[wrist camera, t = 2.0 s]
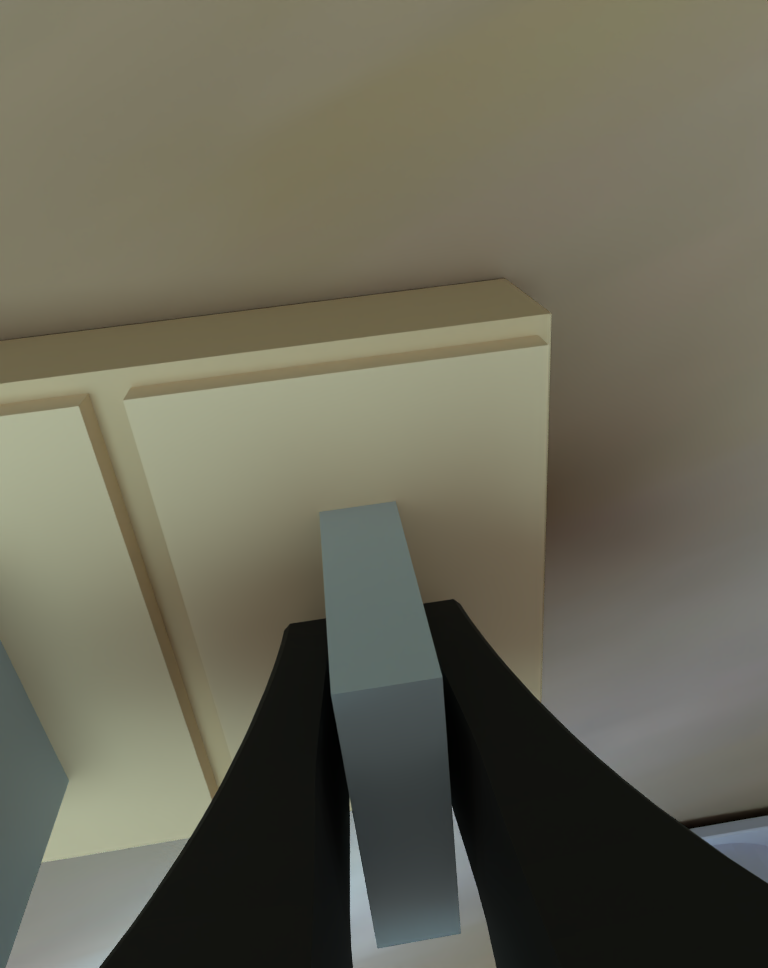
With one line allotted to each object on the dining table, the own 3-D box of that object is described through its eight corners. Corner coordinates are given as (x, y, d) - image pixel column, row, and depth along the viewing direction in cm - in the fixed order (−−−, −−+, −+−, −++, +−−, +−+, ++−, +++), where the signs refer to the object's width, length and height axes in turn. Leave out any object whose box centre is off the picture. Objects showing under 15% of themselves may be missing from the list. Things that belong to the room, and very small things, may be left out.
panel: (507, 683, 17) (539, 767, 15) (-22, 768, 16) (-71, 868, 14) (505, 278, 12) (551, 313, 10) (-252, 371, 11) (-381, 431, 9)
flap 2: (530, 759, 15) (612, 982, 11) (253, 805, 14) (238, 1052, 10) (537, 334, 10) (683, 463, 6) (130, 387, 10) (26, 557, 6)
